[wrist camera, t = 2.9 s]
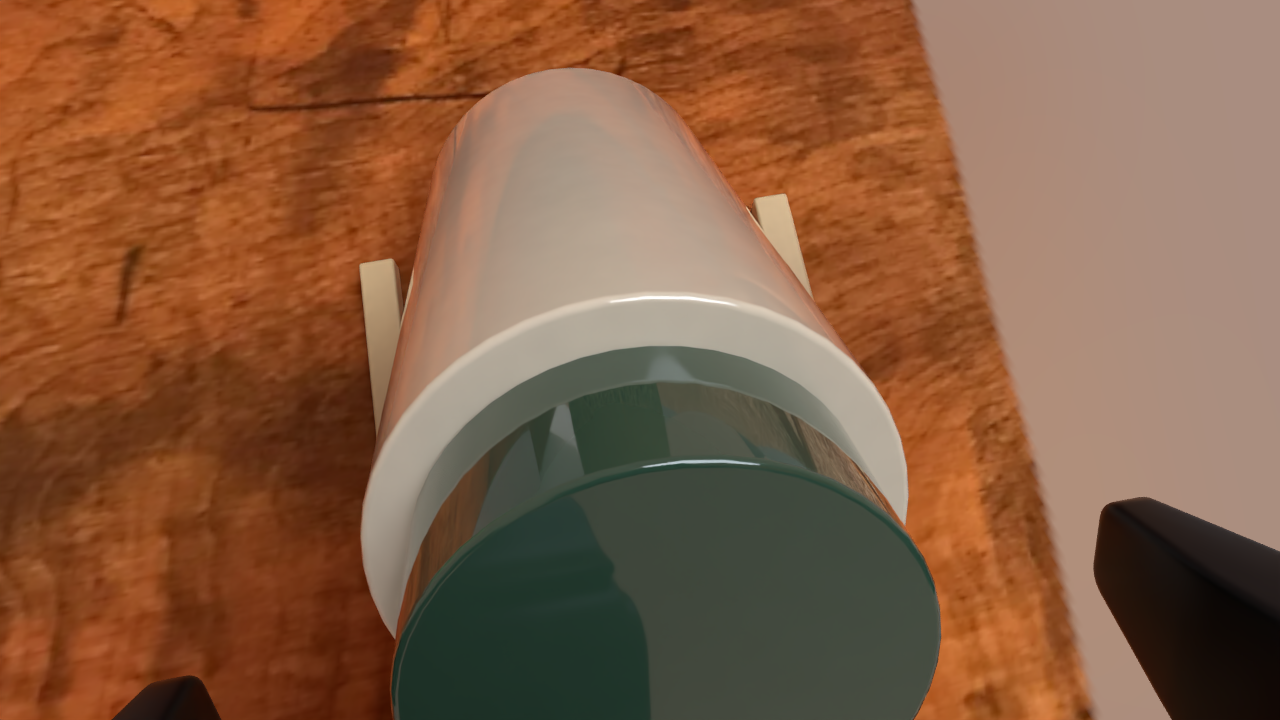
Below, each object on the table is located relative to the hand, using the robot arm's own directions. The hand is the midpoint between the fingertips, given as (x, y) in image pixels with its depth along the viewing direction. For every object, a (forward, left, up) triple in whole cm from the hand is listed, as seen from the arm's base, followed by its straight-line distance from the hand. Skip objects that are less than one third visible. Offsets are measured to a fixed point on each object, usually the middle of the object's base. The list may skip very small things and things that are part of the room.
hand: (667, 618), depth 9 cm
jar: (+4, -1, -10) cm, 11 cm away
